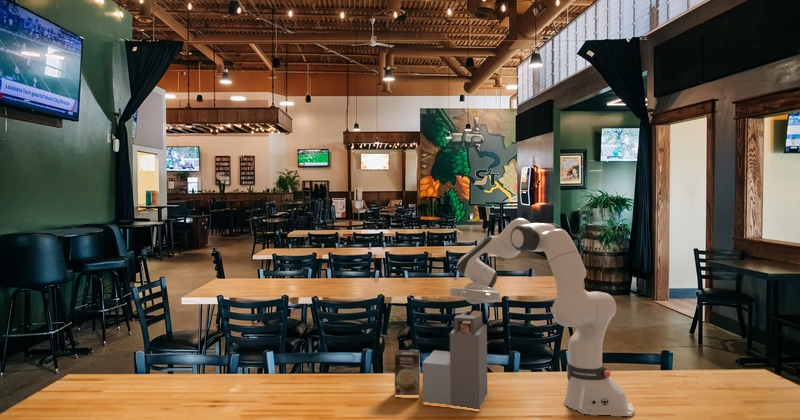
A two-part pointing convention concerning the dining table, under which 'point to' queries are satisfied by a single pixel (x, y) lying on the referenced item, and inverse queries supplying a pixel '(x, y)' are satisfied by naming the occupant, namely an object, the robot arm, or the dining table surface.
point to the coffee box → (407, 372)
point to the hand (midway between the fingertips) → (475, 295)
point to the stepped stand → (459, 367)
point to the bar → (467, 324)
